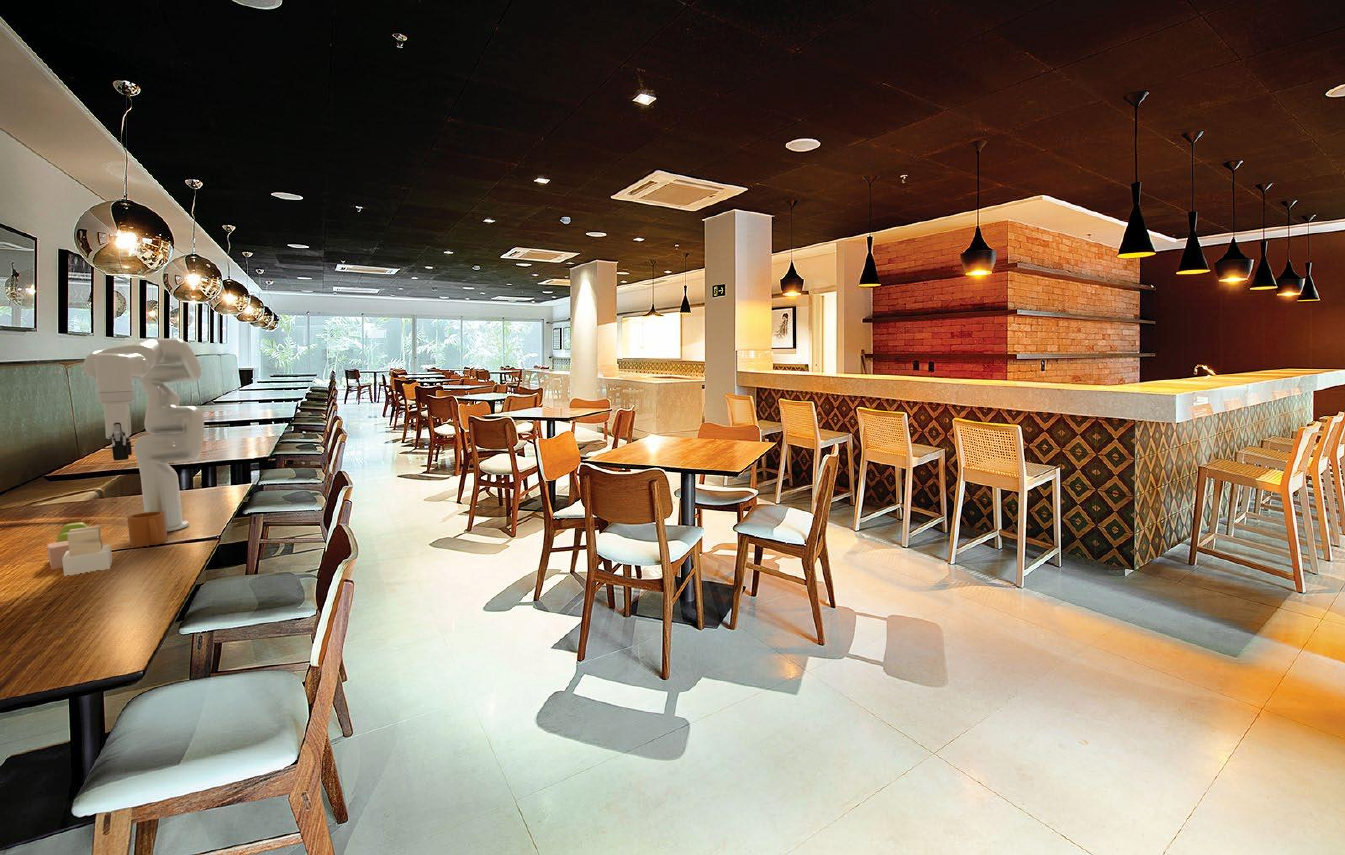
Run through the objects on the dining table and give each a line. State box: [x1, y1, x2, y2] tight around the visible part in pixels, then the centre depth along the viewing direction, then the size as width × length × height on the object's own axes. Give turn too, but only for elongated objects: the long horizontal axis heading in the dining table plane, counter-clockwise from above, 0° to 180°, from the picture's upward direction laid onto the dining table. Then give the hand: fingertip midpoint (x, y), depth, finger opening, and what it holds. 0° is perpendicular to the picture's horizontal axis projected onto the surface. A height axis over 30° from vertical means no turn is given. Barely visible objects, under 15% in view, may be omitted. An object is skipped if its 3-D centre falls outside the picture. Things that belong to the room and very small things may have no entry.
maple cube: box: [67, 525, 103, 556], centre depth 172 cm, size 6×6×6 cm
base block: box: [62, 544, 113, 577], centre depth 173 cm, size 9×9×5 cm
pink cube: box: [46, 541, 69, 570], centre depth 176 cm, size 6×6×6 cm
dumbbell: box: [54, 522, 89, 543], centre depth 188 cm, size 16×8×7 cm, turn 39°
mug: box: [126, 511, 168, 548], centre depth 194 cm, size 9×12×9 cm
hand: (123, 457), depth 182 cm, fingers open, 9 cm apart
